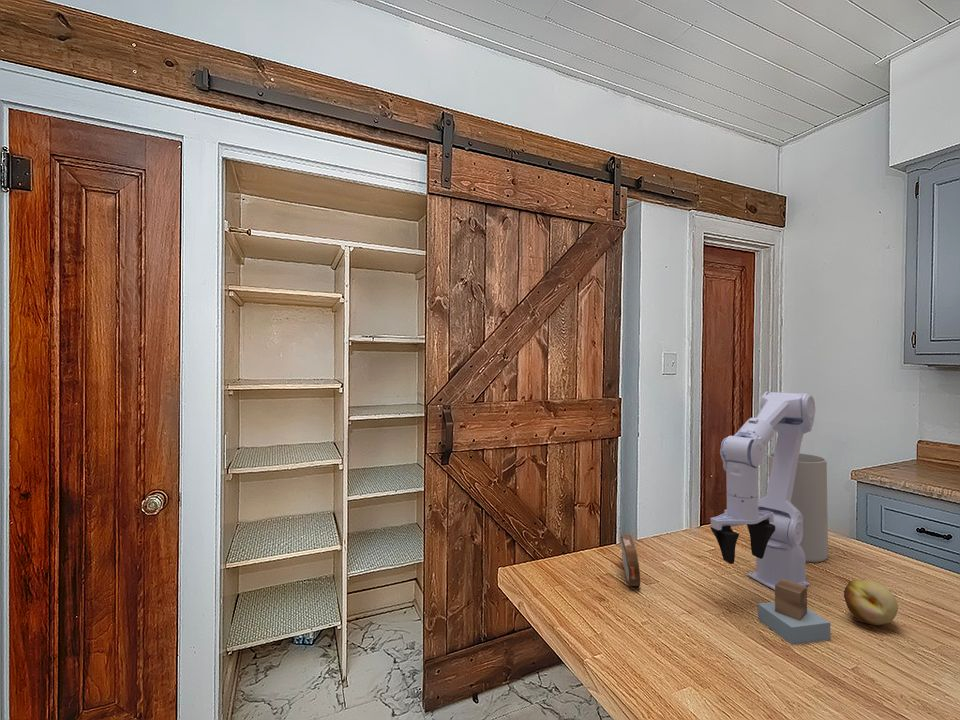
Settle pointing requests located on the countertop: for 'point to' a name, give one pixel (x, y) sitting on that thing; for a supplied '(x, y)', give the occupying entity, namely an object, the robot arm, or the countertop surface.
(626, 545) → the tin
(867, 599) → the fruit
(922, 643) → the countertop surface
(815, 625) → the base block
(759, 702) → the countertop surface
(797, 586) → the walnut block
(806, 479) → the cylinder vase
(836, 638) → the countertop surface
